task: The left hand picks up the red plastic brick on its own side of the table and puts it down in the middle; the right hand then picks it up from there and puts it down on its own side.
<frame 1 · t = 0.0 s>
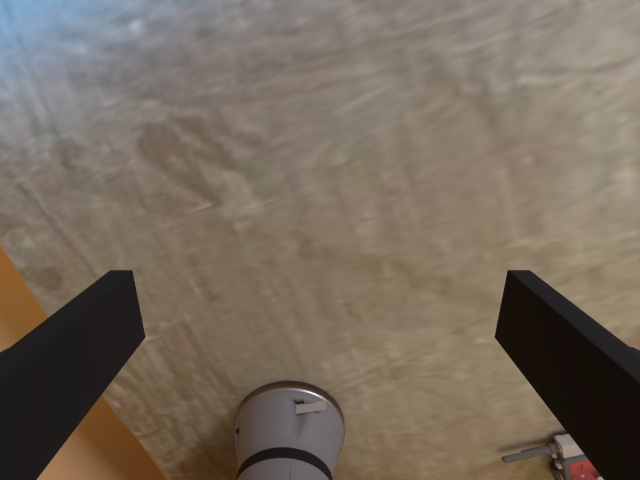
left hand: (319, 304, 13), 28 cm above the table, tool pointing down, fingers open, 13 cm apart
walkie-talkie: (568, 450, 53), on the table
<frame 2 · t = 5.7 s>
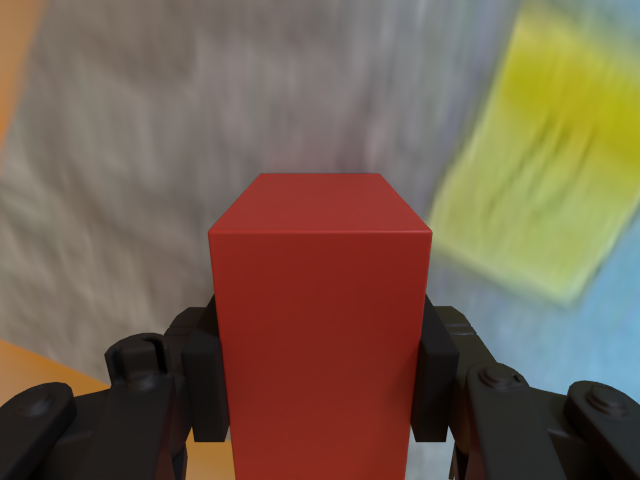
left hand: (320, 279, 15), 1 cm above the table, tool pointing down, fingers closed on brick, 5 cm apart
brick: (320, 266, 16), on the table, touching left hand
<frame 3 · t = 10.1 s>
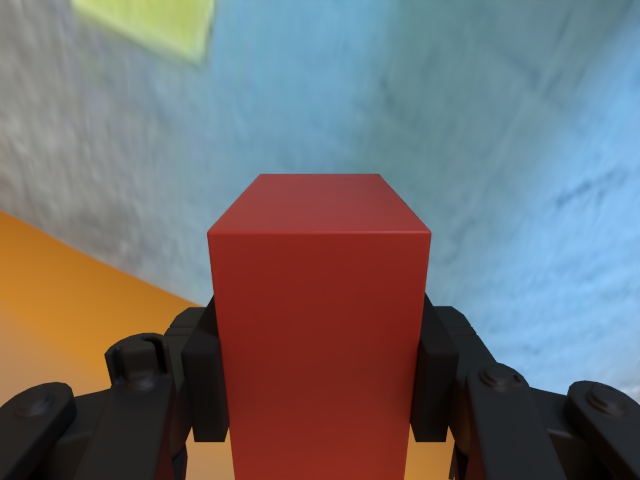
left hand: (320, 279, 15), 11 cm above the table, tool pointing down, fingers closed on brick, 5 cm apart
brick: (319, 266, 16), point 10 cm above the table, touching left hand
when the left hand's fingers open (3 cm above the table, at t = 14.5 s): brick drops 2 cm, on the table.
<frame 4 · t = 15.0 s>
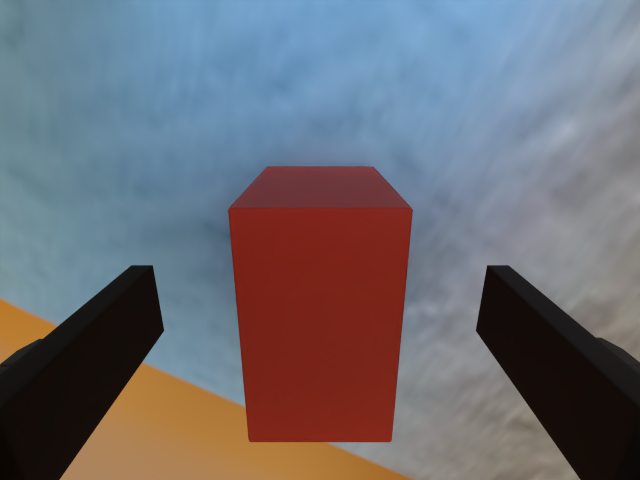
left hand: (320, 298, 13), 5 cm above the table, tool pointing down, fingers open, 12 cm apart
brick: (320, 250, 18), on the table
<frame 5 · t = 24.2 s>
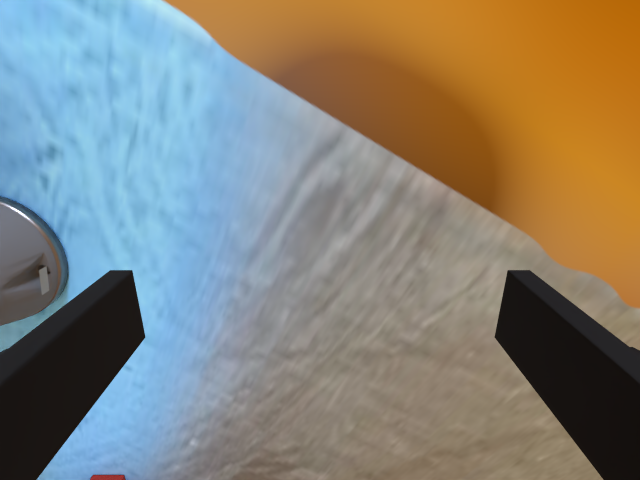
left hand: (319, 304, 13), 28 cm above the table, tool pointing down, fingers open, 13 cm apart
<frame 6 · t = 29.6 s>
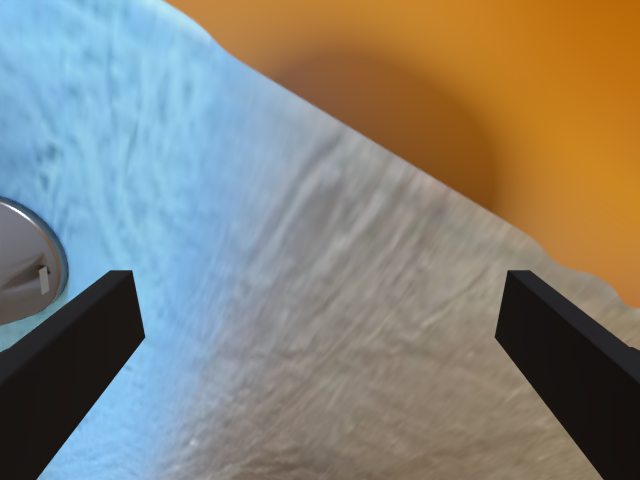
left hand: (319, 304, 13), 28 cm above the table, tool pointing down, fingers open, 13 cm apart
when the right hand's fingers open (3 cm above the table, at t = 35.5 s): brick drops 2 cm, on the table.
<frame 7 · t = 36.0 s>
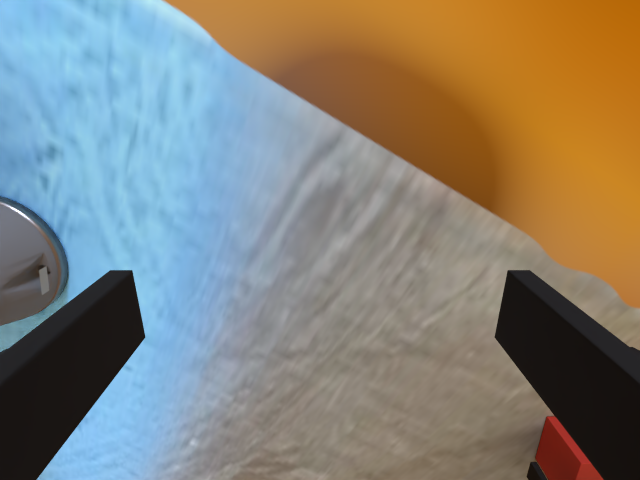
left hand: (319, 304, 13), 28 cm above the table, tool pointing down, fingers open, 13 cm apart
brick: (557, 437, 53), on the table
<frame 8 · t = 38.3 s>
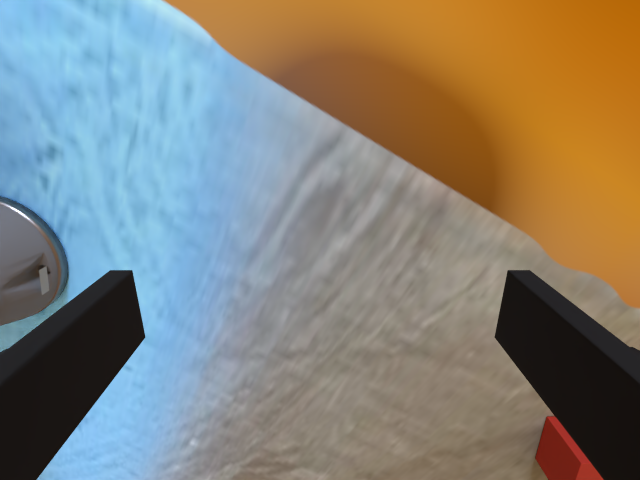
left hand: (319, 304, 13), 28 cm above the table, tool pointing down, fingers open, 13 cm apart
brick: (557, 437, 53), on the table
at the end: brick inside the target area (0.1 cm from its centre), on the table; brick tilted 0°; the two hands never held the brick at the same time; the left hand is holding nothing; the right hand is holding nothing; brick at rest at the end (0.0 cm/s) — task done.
